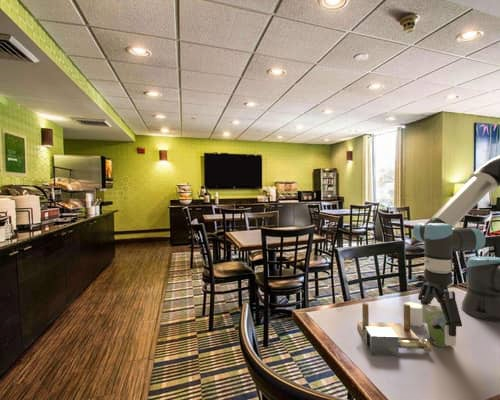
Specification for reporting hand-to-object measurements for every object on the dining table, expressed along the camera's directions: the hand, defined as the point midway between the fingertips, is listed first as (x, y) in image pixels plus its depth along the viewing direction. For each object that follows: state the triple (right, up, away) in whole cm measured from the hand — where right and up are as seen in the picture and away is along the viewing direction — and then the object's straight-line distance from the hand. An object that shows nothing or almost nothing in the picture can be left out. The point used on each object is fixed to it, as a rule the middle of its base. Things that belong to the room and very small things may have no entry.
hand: (437, 333), depth 88 cm
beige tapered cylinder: (+1, -3, +14) cm, 15 cm away
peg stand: (-14, -4, +6) cm, 16 cm away
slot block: (-20, -4, -3) cm, 21 cm away
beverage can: (0, -4, 0) cm, 4 cm away
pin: (-11, -4, -4) cm, 13 cm away
